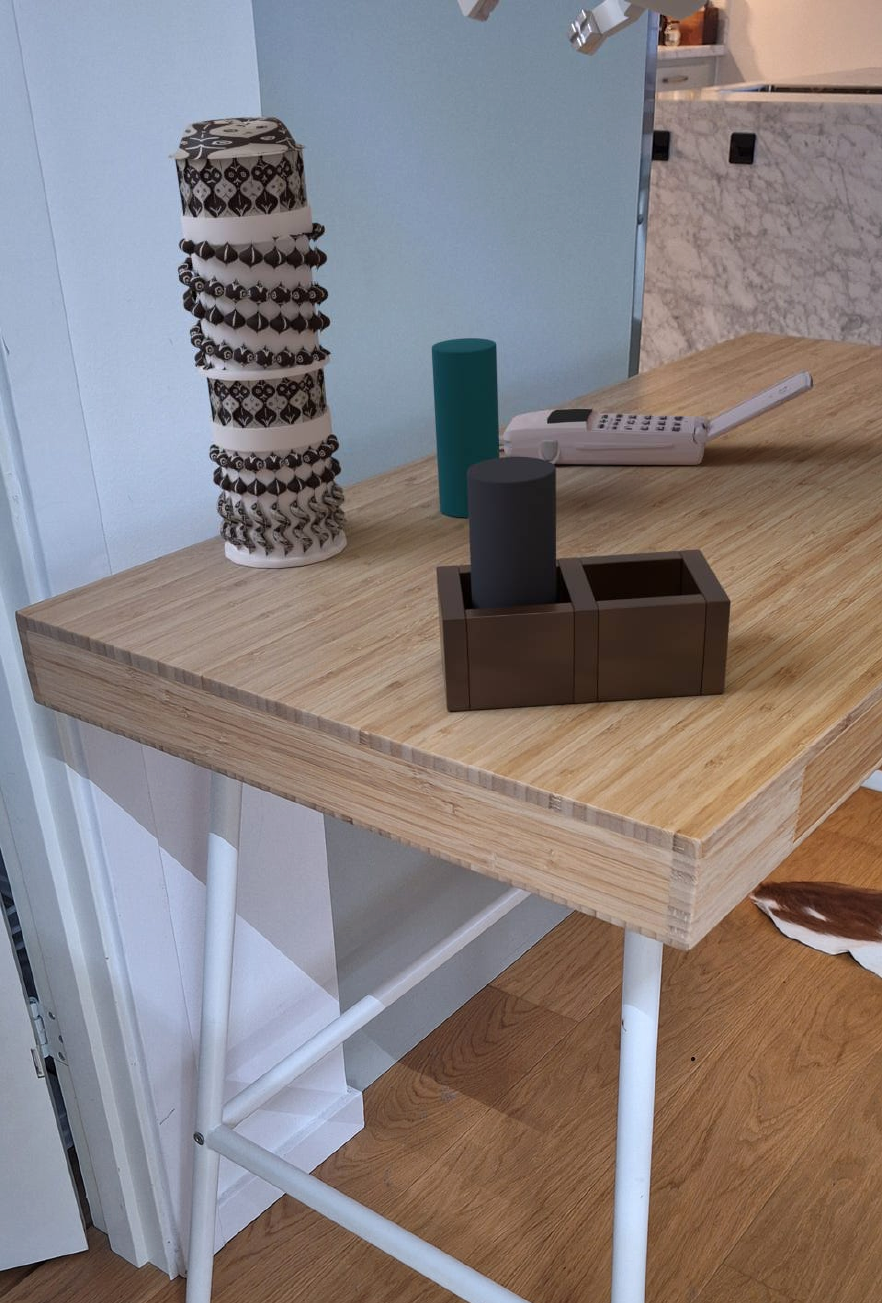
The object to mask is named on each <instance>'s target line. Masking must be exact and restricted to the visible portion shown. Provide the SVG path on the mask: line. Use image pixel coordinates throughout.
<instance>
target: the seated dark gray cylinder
mask: <svg viewBox="0 0 882 1303" xmlns="http://www.w3.org/2000/svg"><path fill="white" fill-rule="evenodd" d="M467 487H468V512H469V518H468V535H469V557H470V559H469V560H470V561H469V562H470V564H471V587H472V609H483V608H498V607H514V606H529V605H544V604H556V559H557V467H556V465H555V464H553V463H551V462H549V461H546V460H543V459H538V458H532V457H510V456H504V457H499V458H495V459H489V460H485V461H482V462H479V463H476V464H474V465H472V466H471V467H470V468H469V469H468V471H467Z"/></svg>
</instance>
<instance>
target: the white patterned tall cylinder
mask: <svg viewBox="0 0 882 1303" xmlns="http://www.w3.org/2000/svg"><path fill="white" fill-rule="evenodd" d="M306 148H307V147H306V145H304V144H300V143H298V142H296V141H295V138H294V137H293V135H292V134H291V132H290V130H289V128H287V125H286V124H284V122H283V121H282V120H280V119H279V118H277V117H274V116H273V117H271V116H247V117H246V116H245V117H230V118H220V119H210V120H209V119H208V120H202V121H197V122H193V123H189V125H187V126H186V127H185V129H184V131H183V133H182V136H181V139H180V142H179V145H178V148H177V150H176V151H175V152H174V153H172V154H169V155H168V159H173V160H174V161H175V168H176V174H177V181H178V189H179V196H180V203H181V210H182V211H181V212H180V222H181V229H182V236H183V238H182V239H180V241H179V242H178V248H179V250H180V251H182V252H183V253H184V254H187V257H185V260H184V261H182V262H181V263H180V264H179V265H178V267H177V272H178V280H179V282H180V283H181V284H182V285H184V286H186V287H189V288H188V289H186V290H185V291H184V292H183V294H182V300H183V302H182V306H183V309H184V310H185V311H187V312H189V313H190V314H191V315H192V316H193V317H194V318H196V319H197V321H196V324H194V325H193V326H191V327H190V330H189V334H190V343H191V345H192V346H193V347H195V348H196V349H199V350H198V352H197V353H195V355H194V357H193V359H194V361H195V362H194V366H195V367H196V368H197V370H198V374H199V375H200V376H203V377H206V382H207V390H208V397H209V398H208V399H209V403H210V410H211V415H209V418H210V419H209V422H210V423H209V424H210V428H211V437H212V444H211V446H210V447H209V454H208V457H209V459H210V460H211V461H212V462H214V463H216V464H217V465H218V467H217V468H215V469H214V471H213V478H212V481H213V483H214V484H215V486H218V487H219V488H220V489H221V490H223V491H222V492H220V494H219V496H218V498H217V500H216V511H217V513H218V515H219V516H220V517H221V518H222V519H221V522H220V528H219V533H220V535H221V537H222V539H224V540H225V543H224V552H225V553H224V554H225V558H226V559H228V560H229V561H231V562H233V563H234V564H236V565H241V566H245V567H250V568H255V569H256V568H259V569H260V568H261V569H283V568H291V567H293V568H294V567H302V566H307V565H310V564H315V563H319V562H322V561H325V560H328V559H330V558H332V557H334V556H336V555H339V554H340V553H341V552H342V551H344V549H345V548H346V547H347V545H348V541H347V536H346V534H345V531H344V530H342V529H343V528H344V527H345V526H346V524H347V521H348V520H347V518H346V517H345V516H346V514H345V511H344V509H342V508H341V507H340V506H341V505H342V504H344V502H345V501H346V500H345V499H346V498H345V495H344V490H343V488H342V486H340V485H339V484H338V483H337V482H335V478H336V477H337V476H339V475H340V474H341V472H342V467H341V465H340V461H339V460H338V459H337V458H335V457H333V456H332V455H333V454H334V453H336V452H337V451H338V450H339V448H340V442H339V440H338V437H337V436H336V435H335V434H334V433H333V426H332V424H333V423H332V416H331V414H332V413H331V409H330V407H329V405H328V403H327V402H328V401H327V390H326V389H327V388H326V380H325V379H326V378H325V370H324V367H326V366H327V365H328V364H329V363H331V358H330V355H332V353H331V352H330V351H329V350H328V349H326V348H324V347H323V346H322V344H321V343H320V340H319V334H320V336H321V334H322V332H323V331H324V330H325V329H327V328H328V327H330V325H331V318H330V317H328V316H327V315H325V313H322V311H321V310H320V309H316V304H317V306H318V307H320V306H321V304H322V303H325V301H326V300H327V299H328V298H329V291H328V289H327V288H325V287H323V286H321V285H320V284H319V283H318V282H316V281H314V279H313V269H312V268H314V267H315V268H316V271H319V268H321V267H322V266H323V265H325V264H326V263H327V261H328V255H327V254H326V252H324V251H322V250H321V249H319V248H318V246H317V245H313V246H314V247H313V248H314V249H312V247H311V245H310V241H311V240H312V241H313V243H316V242H317V240H318V239H319V238H321V237H322V236H323V235H325V231H326V228H325V225H322V224H320V223H319V222H313V218H312V217H313V215H312V206H311V204H310V203H309V202H308V196H307V195H308V194H307V186H306V185H307V184H306V173H305V162H304V154H303V150H304V149H306ZM192 272H193V273H192Z"/></svg>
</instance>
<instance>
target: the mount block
mask: <svg viewBox="0 0 882 1303" xmlns="http://www.w3.org/2000/svg"><path fill="white" fill-rule="evenodd" d="M435 570H436V588H437V604H438V606H437V607H438V621H439V622H438V624H439V626H438V627H439V643H440V644H439V645H440V656H441V666H442V675H443V685H444V686H443V687H444V695H445V696H444V697H445V703H446V704H445V705H446V711H447V712H458V711H459V712H460V711H470V710H471V711H473V710H474V711H475V710H487V709H505V708H506V709H507V708H518V707H520V708H521V707H533V706H534V707H535V706H550V705H551V706H552V705H566V704H581V703H582V704H584V703H596V702H609V701H623V700H624V701H625V700H639V699H654V698H655V699H656V698H669V697H686V696H699V695H703V696H704V695H716V694H717V695H718V694H720V695H721V694H724V693H725V685H726V684H725V683H726V673H727V672H726V670H727V656H728V644H729V632H730V631H729V630H730V619H731V618H730V617H731V616H730V615H731V604H732V603H731V601H732V600H731V599H730V598H729V595H728V594H727V592H726V590H725V589H724V587H723V585H722V584H721V582H720V581H719V579H718V578H717V576H716V574H715V572H714V571H713V569H712V567H711V566H710V564H709V562H708V561H707V559H706V557H705V555H704V554H703V553H702V551H701V549H686V550H679V551H678V550H671V551H669V550H667V551H655V552H654V551H653V552H638V553H623V554H621V553H620V554H607V555H606V554H605V555H591V556H580V557H579V556H577V557H576V556H575V557H561V558H560V557H559V558H556V604H544V605H529V606H514V607H498V608H483V609H472V587H471V563H469V564H460V565H457V564H456V565H455V564H454V565H440V566H436V567H435Z"/></svg>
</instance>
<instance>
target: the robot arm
mask: <svg viewBox="0 0 882 1303" xmlns="http://www.w3.org/2000/svg"><path fill="white" fill-rule="evenodd" d="M708 1H709V0H603V2H601V3H600V4H599V5H597V6H596V7H595V8H593V9H592V10H591V11H590V10H587V9H584V8H583V9H581V10H580V12H579V13H578V15H577V16H576V17H575V21H573V22H572V23H571V24H570V25H569V27H568V30H567V38H568V41H569V42H570V44H571V48H572V50H573V51H575V52H577V53H581V54H584V55H586V56H589V57H593V56H594V55H595V54H596V53H597V52H598V50H599V49H600V48H601V47H602V46H603V44H604V43H605V41H606V40H607V38H610V37H612V36H614V35H616V34H618V33H619V32H621V31H622V30H624V29H626V28H627V27H629V26H631V25H632V24H634V23H636V22H638V20H639V19H640V18H641V17H642V15H643V14H644V13H645V12H646V10H648V11H651V12H654V13H656V14H659V15H661V16H665V17H668V18H670V19H673V20H676V21H684V20H685V19H688V18H689V17H691V16H693V15H694V14H696V13H698V12H700V11H701V10H702V9H703V7H704V6H705V5H706V4H707V3H708ZM457 3H458V5H459V8H460V11H461V13H462V15H463V16H464V17H465V18H468V19H472V20H475V21H477V22H478V21H479V22H482V23H483V22H486V21H487V20H489V18H490V13H491V12H493V11H494V10H495V9H496V7H497V6H498V5H499V3H500V0H457Z"/></svg>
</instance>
